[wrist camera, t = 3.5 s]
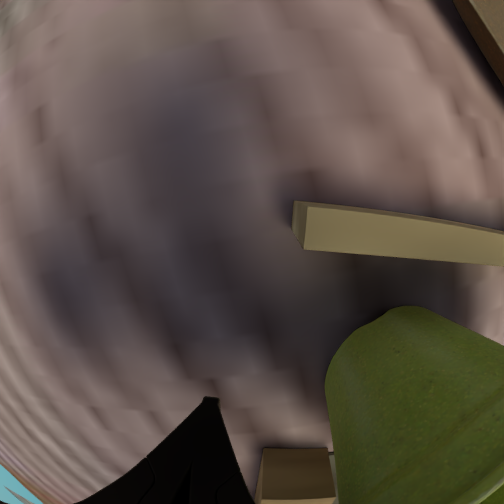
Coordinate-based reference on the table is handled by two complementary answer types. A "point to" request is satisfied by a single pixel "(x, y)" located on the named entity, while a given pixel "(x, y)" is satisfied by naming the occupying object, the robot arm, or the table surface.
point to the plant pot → (417, 412)
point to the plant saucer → (486, 29)
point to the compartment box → (370, 243)
